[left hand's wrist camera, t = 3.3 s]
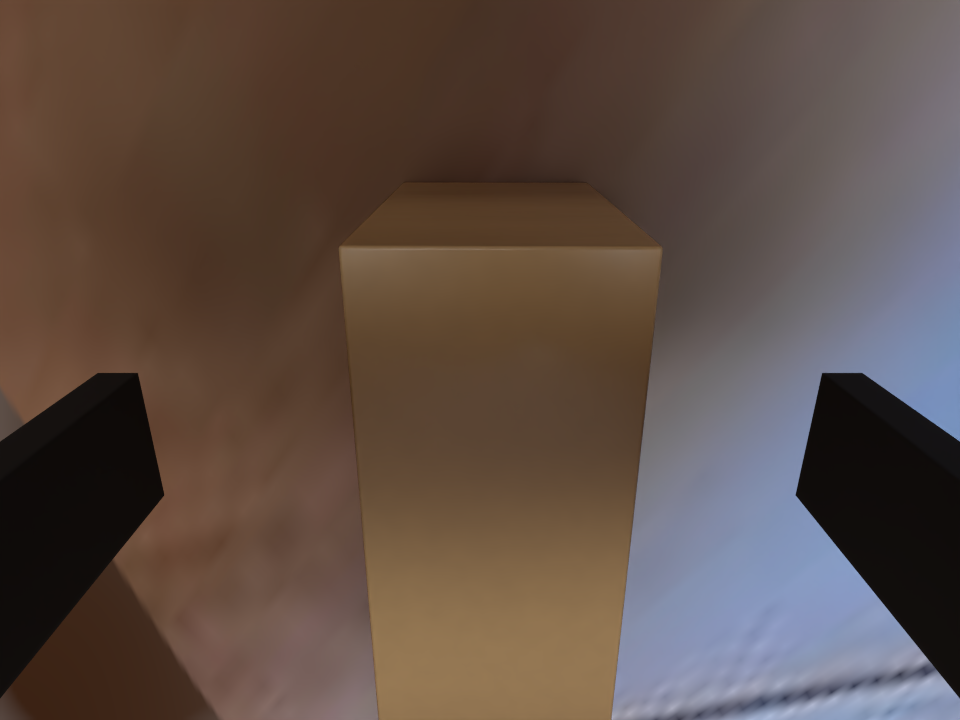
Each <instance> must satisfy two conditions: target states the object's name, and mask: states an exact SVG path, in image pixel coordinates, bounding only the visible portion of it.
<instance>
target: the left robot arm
mask: <svg viewBox="0 0 960 720" xmlns="http://www.w3.org/2000/svg"><path fill="white" fill-rule="evenodd" d="M163 496H164V491H163V487H162V482H161V478H160V473H159V468H158V464H157V459H156V455H155V450H154V445H153V441H152V436H151V432H150V427H149V422H148V418H147V413H146V409H145V404H144V399H143V395H142V390H141V386H140V381H139V377H138V373H97V374H96V375H94V376H93V377H92V378H90V379H89V380H87V381H86V382H84V383H83V384H82V385H80V386H79V387H77V388H76V389H75V390H73V391H72V392H70V393H69V394H67V395H66V396H65V397H63V398H62V399H60V400H59V401H57V402H56V403H55V404H53V405H52V406H50V407H49V408H47V409H46V410H45V411H43V412H42V413H40V414H39V415H38V416H36V417H35V418H33V419H32V420H30V421H29V422H28V423H26V424H25V425H23V426H22V427H20V428H19V429H18V430H16V431H15V432H13V433H12V434H10V435H9V436H8V437H6V438H5V439H3V440H2V441H1V442H0V698H1V697H2V695H3V694H4V693H5V692H6V690H7V689H8V688H9V687H10V686H11V684H12V683H13V682H14V681H15V679H16V678H17V677H18V676H19V674H20V673H21V672H22V671H23V669H24V668H25V667H26V666H27V664H28V663H29V662H30V661H31V660H32V658H33V657H34V656H35V654H36V653H37V652H38V651H39V650H40V648H41V647H42V646H43V645H44V643H45V642H46V641H47V640H48V639H49V637H50V636H51V635H52V634H53V632H54V631H55V630H56V629H57V627H58V626H59V625H60V624H61V622H62V621H63V620H64V619H65V617H66V616H67V615H68V614H69V613H70V611H71V610H72V609H73V607H74V606H75V605H76V604H77V603H78V601H79V600H80V599H81V598H82V596H83V595H84V594H85V593H86V591H87V590H88V589H89V588H90V587H91V585H92V584H93V583H94V582H95V580H96V579H97V578H98V577H99V575H100V574H101V573H102V572H103V570H104V569H105V568H106V567H107V565H108V564H109V563H110V562H111V561H112V559H113V558H114V557H115V556H116V554H117V553H118V552H119V551H120V549H121V548H122V547H123V546H124V544H125V543H126V542H127V541H128V540H129V538H130V537H131V536H132V535H133V533H134V532H135V531H136V530H137V528H138V527H139V526H140V525H141V523H142V522H143V521H144V520H145V518H146V517H147V516H148V515H149V514H150V512H151V511H152V510H153V509H154V507H155V506H156V505H157V504H158V502H159V501H160V500H161V499H162V497H163ZM796 496H797V497H798V499H799V500H800V501H801V502H802V504H803V505H804V506H805V507H806V509H807V510H808V511H809V512H810V514H811V515H812V516H813V517H814V518H815V520H816V521H817V522H818V523H819V525H820V526H821V527H822V528H823V530H824V531H825V532H826V533H827V535H828V536H829V537H830V538H831V540H832V541H833V542H834V543H835V544H836V546H837V547H838V548H839V549H840V551H841V552H842V553H843V554H844V556H845V557H846V558H847V559H848V561H849V562H850V563H851V564H852V566H853V567H854V568H855V569H856V570H857V572H858V573H859V574H860V575H861V577H862V578H863V579H864V580H865V582H866V583H867V584H868V585H869V587H870V588H871V589H872V590H873V591H874V593H875V594H876V595H877V596H878V598H879V599H880V600H881V601H882V603H883V604H884V605H885V606H886V608H887V609H888V610H889V611H890V613H891V614H892V615H893V616H894V617H895V619H896V620H897V621H898V622H899V624H900V625H901V626H902V627H903V629H904V630H905V631H906V632H907V634H908V635H909V636H910V637H911V639H912V640H913V641H914V642H915V643H916V645H917V646H918V647H919V648H920V650H921V651H922V652H923V653H924V655H925V656H926V657H927V658H928V660H929V661H930V662H931V663H932V664H933V666H934V667H935V668H936V669H937V671H938V672H939V673H940V674H941V676H942V677H943V678H944V679H945V681H946V682H947V683H948V684H949V686H950V687H951V688H952V689H953V690H954V692H955V693H956V694H957V695H958V697H959V698H960V442H959V441H958V440H957V439H955V438H954V437H952V436H951V435H950V434H948V433H947V432H945V431H944V430H942V429H941V428H940V427H938V426H937V425H935V424H934V423H932V422H931V421H930V420H928V419H927V418H925V417H924V416H922V415H921V414H920V413H918V412H917V411H915V410H914V409H913V408H911V407H910V406H908V405H907V404H905V403H904V402H903V401H901V400H900V399H898V398H897V397H895V396H894V395H893V394H891V393H890V392H888V391H887V390H885V389H884V388H883V387H881V386H880V385H878V384H877V383H876V382H874V381H873V380H871V379H870V378H868V377H867V376H866V375H864V374H863V373H822V376H821V381H820V386H819V390H818V395H817V399H816V404H815V409H814V413H813V418H812V422H811V427H810V432H809V436H808V441H807V445H806V450H805V455H804V459H803V464H802V468H801V473H800V478H799V482H798V487H797V491H796Z"/></svg>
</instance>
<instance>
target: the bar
mask: <svg viewBox="0 0 960 720" xmlns="http://www.w3.org/2000/svg"><path fill="white" fill-rule="evenodd" d="M338 250H339V262H340V273H341V285H342V297H343V308H344V320H345V332H346V344H347V355H348V367H349V379H350V390H351V402H352V414H353V426H354V437H355V449H356V461H357V472H358V484H359V496H360V507H361V519H362V531H363V543H364V554H365V566H366V578H367V589H368V601H369V613H370V624H371V636H372V648H373V660H374V671H375V683H376V695H377V706H378V718H379V720H611V716H612V707H613V698H614V689H615V680H616V671H617V662H618V653H619V644H620V635H621V626H622V617H623V608H624V599H625V590H626V580H627V571H628V562H629V553H630V544H631V535H632V526H633V517H634V508H635V499H636V490H637V481H638V472H639V463H640V454H641V445H642V436H643V426H644V417H645V408H646V399H647V390H648V381H649V372H650V363H651V354H652V345H653V336H654V327H655V318H656V309H657V300H658V291H659V282H660V272H661V263H662V254H663V248H662V246H660V245H659V244H658V243H657V242H656V241H655V240H653V239H652V238H651V237H650V236H649V235H648V234H646V233H645V232H644V231H643V230H642V229H641V228H639V227H638V226H637V225H636V224H635V223H634V222H632V221H631V220H630V219H629V218H628V217H627V216H625V215H624V214H623V213H622V212H621V211H620V210H618V209H617V208H616V207H615V206H614V205H613V204H611V203H610V202H609V201H608V200H607V199H606V198H604V197H603V196H602V195H601V194H600V193H599V192H597V191H596V190H595V189H594V188H593V187H592V186H590V185H589V184H588V183H503V182H404V183H402V184H401V185H400V186H399V187H398V188H397V189H396V190H395V191H394V192H393V193H392V194H391V195H390V196H389V197H388V198H387V199H386V200H385V201H384V202H383V203H382V204H381V205H380V206H379V207H378V208H377V209H376V210H375V211H374V212H373V213H372V214H371V215H370V216H369V217H368V218H367V219H366V220H365V221H364V222H363V223H362V224H361V225H360V226H359V227H358V228H357V229H356V230H355V231H354V232H353V233H352V234H351V235H350V236H349V237H348V238H347V239H346V240H345V241H344V242H343V243H342V244H341V245H340V246H339V248H338Z"/></svg>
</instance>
